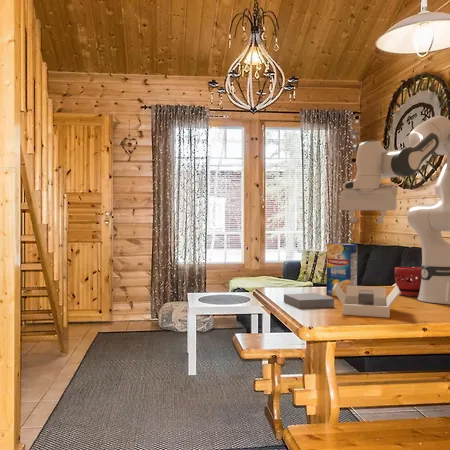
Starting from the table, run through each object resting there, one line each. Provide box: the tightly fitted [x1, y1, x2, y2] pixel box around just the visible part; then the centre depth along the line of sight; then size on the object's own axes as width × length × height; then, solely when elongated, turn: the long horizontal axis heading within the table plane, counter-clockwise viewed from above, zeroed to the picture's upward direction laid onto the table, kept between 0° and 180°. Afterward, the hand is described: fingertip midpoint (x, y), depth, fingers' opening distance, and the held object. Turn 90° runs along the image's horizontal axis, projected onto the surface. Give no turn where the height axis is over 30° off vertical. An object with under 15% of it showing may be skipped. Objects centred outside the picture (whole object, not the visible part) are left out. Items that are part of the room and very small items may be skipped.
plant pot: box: [394, 266, 422, 298], centre depth 204 cm, size 13×13×12 cm
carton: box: [333, 283, 401, 318], centre depth 167 cm, size 21×22×9 cm
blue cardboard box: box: [325, 242, 358, 297], centre depth 201 cm, size 7×11×22 cm, turn 52°
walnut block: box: [358, 289, 374, 306], centre depth 166 cm, size 12×5×7 cm, turn 163°
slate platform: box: [283, 292, 335, 309], centre depth 178 cm, size 14×14×3 cm
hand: (366, 222), depth 171 cm, fingers open, 8 cm apart
